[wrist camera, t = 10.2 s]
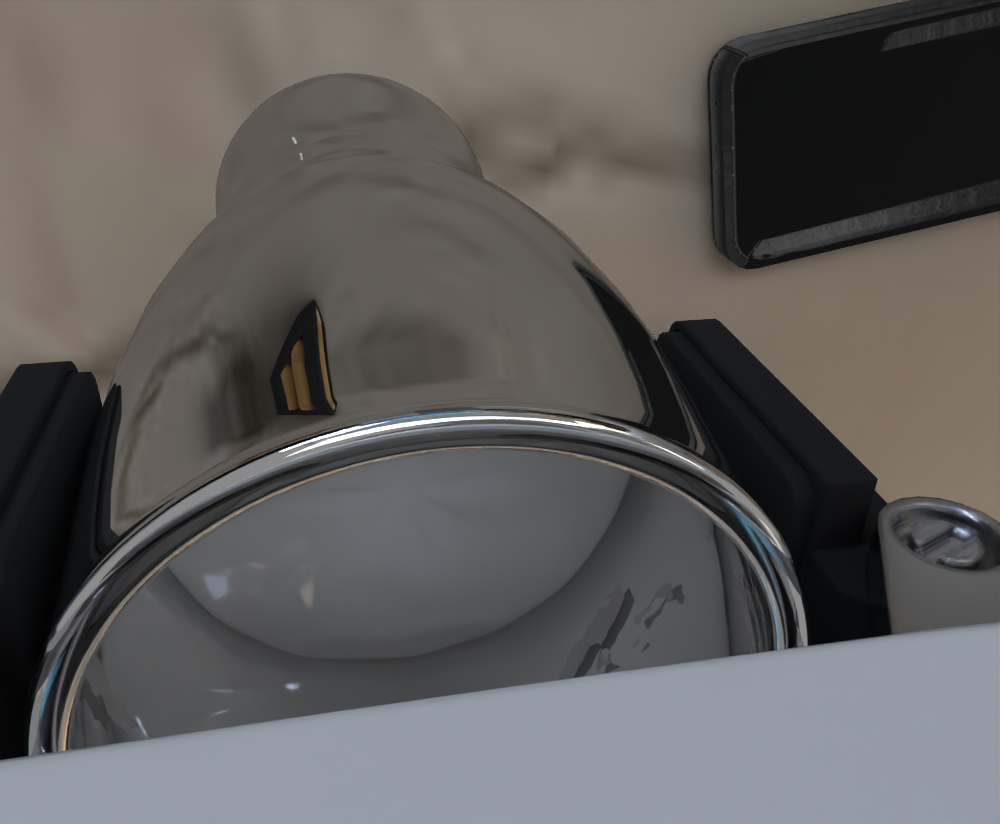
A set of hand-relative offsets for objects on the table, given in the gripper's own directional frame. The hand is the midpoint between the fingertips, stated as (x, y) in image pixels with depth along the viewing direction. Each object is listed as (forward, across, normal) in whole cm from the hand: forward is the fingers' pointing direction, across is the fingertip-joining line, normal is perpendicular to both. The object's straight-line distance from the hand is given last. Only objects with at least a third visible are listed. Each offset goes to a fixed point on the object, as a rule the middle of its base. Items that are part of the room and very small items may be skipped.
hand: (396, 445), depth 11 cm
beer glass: (+10, 0, 0) cm, 10 cm away
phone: (+19, -20, 0) cm, 28 cm away
